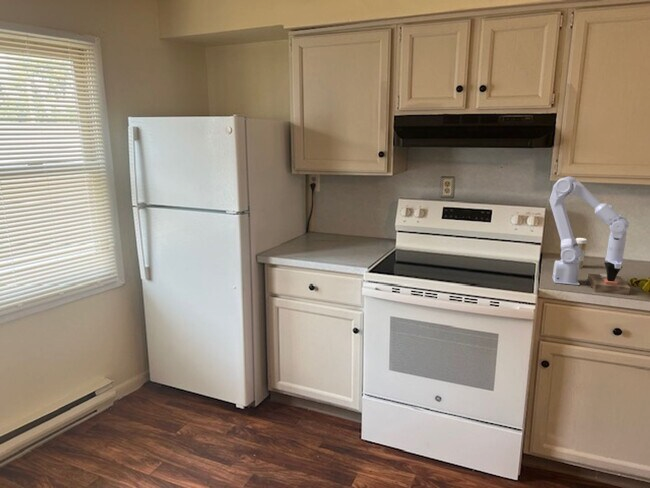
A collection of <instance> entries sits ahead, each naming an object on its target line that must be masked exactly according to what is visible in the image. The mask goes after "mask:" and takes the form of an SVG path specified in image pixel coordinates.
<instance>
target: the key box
mask: <svg viewBox="0 0 650 488" xmlns="http://www.w3.org/2000/svg"><path fill="white" fill-rule="evenodd" d="M599 275H600V273H599V274H595V273H588V275H587V282H588V284H589V285H590V286H591V288H592V290H593V291H594V292H595V293H605V294H615V295H626V296H630V293H631V287H630V286H629V284H628V283H627V282H626V281H625V280H624V279H623V278H622V276H621V275H620V276H619V275H617V276H616V278H615V280H616V282H617V285H613V284H605V283H604V282H603V281H604V278H600V276H599Z"/></svg>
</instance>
